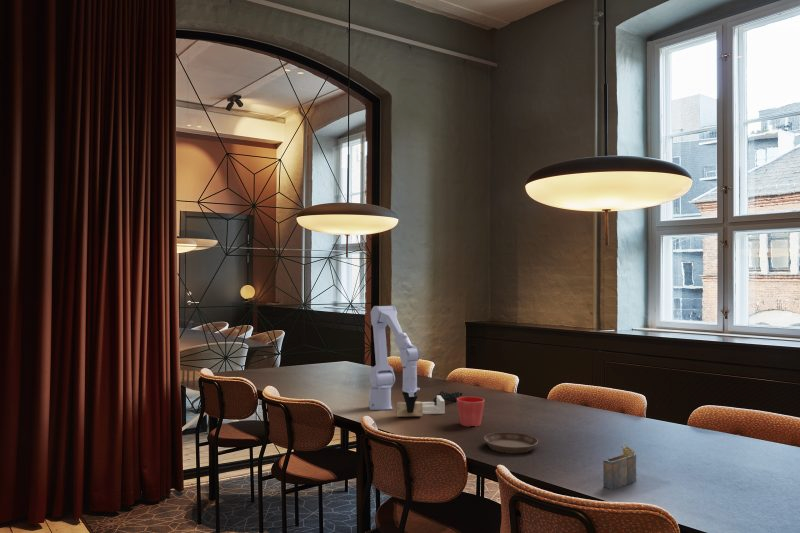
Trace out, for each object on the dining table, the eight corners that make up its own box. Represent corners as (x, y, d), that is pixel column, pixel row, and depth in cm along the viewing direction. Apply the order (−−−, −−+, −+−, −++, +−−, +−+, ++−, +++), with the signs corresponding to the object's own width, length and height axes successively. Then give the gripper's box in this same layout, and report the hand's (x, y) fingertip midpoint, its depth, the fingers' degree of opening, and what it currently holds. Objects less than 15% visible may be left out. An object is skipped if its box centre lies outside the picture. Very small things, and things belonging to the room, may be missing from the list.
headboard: (411, 414, 252) (411, 401, 252) (408, 408, 264) (408, 395, 264) (444, 413, 253) (444, 400, 253) (440, 407, 265) (440, 395, 265)
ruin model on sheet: (626, 479, 172) (626, 444, 172) (636, 482, 169) (636, 447, 170) (602, 488, 165) (601, 451, 165) (611, 491, 163) (611, 454, 163)
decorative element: (440, 408, 263) (440, 395, 263) (430, 407, 265) (430, 393, 265) (464, 401, 281) (464, 388, 282) (454, 400, 284) (454, 387, 284)
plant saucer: (549, 450, 200) (549, 441, 201) (508, 458, 191) (508, 449, 191) (512, 438, 215) (512, 429, 215) (473, 445, 206) (473, 436, 206)
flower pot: (488, 422, 237) (488, 397, 237) (479, 429, 227) (479, 402, 227) (462, 420, 242) (462, 395, 242) (452, 426, 232) (452, 400, 232)
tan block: (397, 416, 244) (397, 403, 244) (396, 414, 248) (396, 401, 248) (422, 416, 245) (422, 403, 245) (421, 413, 249) (421, 401, 249)
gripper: (421, 380, 240) (421, 415, 240) (417, 374, 254) (417, 407, 254) (403, 380, 239) (403, 415, 239) (400, 374, 254) (400, 407, 254)
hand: (409, 411), depth 247 cm, fingers closed on tan block, 4 cm apart
